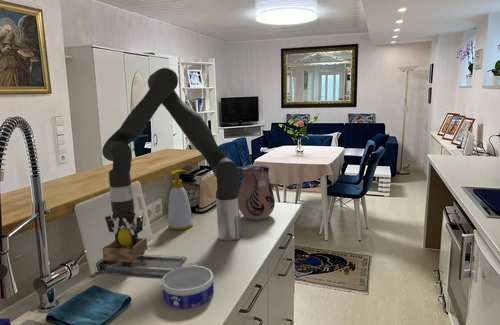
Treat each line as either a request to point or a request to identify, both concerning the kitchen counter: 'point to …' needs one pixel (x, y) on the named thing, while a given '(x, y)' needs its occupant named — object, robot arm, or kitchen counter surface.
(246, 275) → the kitchen counter surface
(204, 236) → the kitchen counter surface
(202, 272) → the dog bowl
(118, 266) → the track
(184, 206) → the soap bottle
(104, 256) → the wooden tray box
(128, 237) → the lemon
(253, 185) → the ceramic pitcher
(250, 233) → the kitchen counter surface
